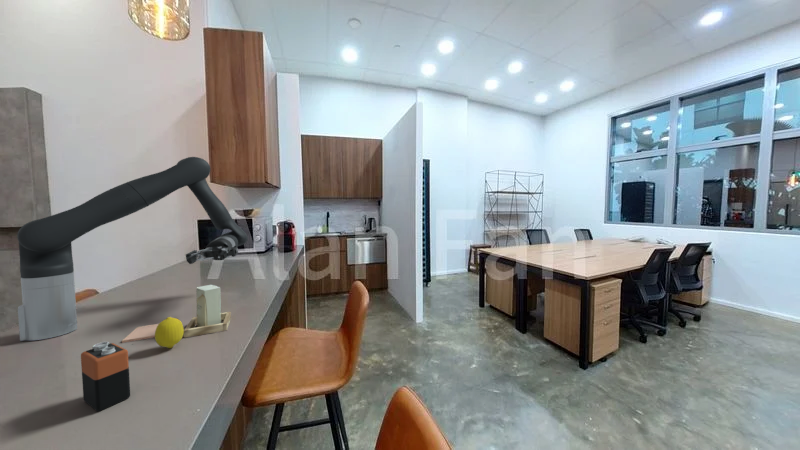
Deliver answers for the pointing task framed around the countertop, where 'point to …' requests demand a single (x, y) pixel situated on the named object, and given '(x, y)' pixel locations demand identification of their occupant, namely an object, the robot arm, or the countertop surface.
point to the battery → (105, 375)
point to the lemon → (169, 332)
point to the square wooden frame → (192, 331)
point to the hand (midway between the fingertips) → (205, 259)
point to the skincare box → (208, 305)
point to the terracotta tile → (141, 333)
